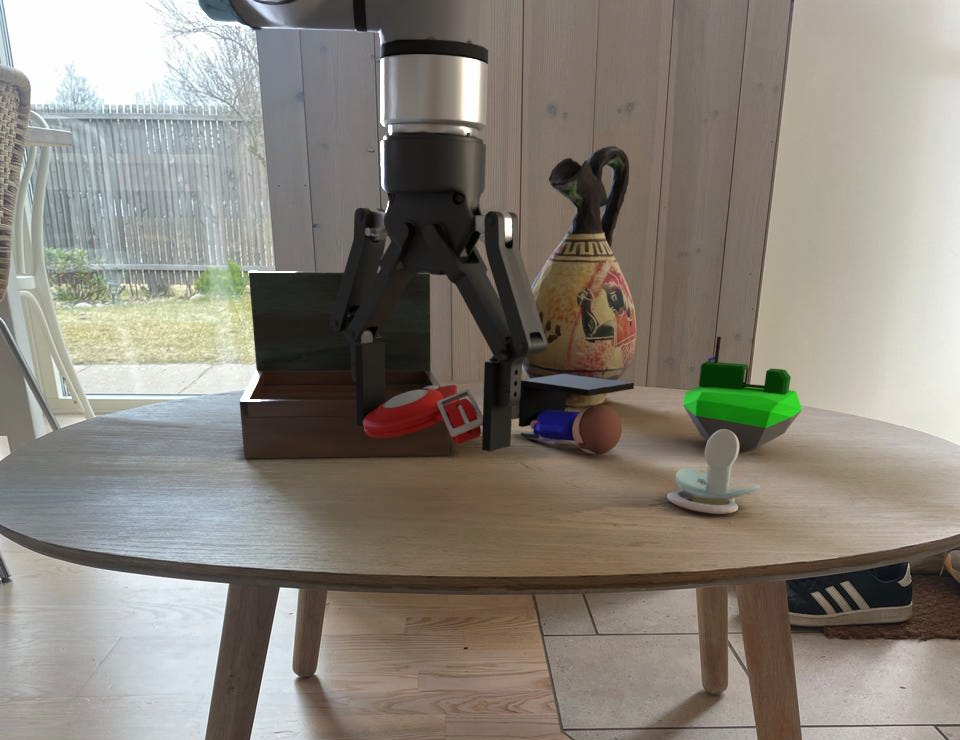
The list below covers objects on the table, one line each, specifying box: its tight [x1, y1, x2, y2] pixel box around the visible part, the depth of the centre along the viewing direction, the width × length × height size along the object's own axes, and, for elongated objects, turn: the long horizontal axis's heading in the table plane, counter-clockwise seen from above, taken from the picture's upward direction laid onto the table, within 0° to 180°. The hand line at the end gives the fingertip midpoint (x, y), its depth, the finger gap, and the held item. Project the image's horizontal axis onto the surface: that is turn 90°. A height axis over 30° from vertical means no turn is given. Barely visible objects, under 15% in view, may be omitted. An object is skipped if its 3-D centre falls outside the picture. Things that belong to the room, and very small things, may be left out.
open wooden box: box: [239, 270, 450, 460], centre depth 97 cm, size 21×20×16 cm
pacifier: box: [667, 429, 761, 515], centre depth 76 cm, size 7×6×6 cm
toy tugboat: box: [682, 336, 803, 453], centre depth 96 cm, size 12×12×11 cm
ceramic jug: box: [522, 145, 638, 408], centre depth 117 cm, size 17×15×30 cm
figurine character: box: [512, 374, 635, 455], centre depth 97 cm, size 7×8×15 cm
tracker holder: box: [363, 384, 483, 445], centre depth 75 cm, size 12×4×10 cm
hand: (430, 435), depth 75 cm, fingers closed on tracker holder, 12 cm apart
